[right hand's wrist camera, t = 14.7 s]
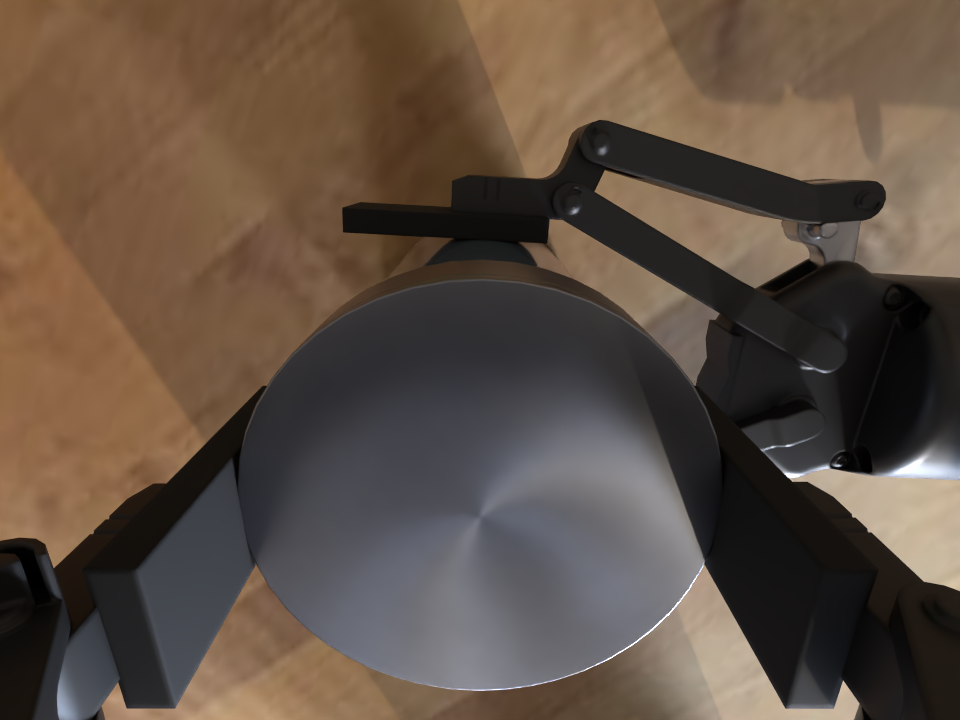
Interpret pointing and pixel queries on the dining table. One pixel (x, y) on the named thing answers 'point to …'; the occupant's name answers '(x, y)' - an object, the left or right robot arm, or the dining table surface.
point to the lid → (480, 478)
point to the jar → (477, 254)
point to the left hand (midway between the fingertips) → (356, 348)
